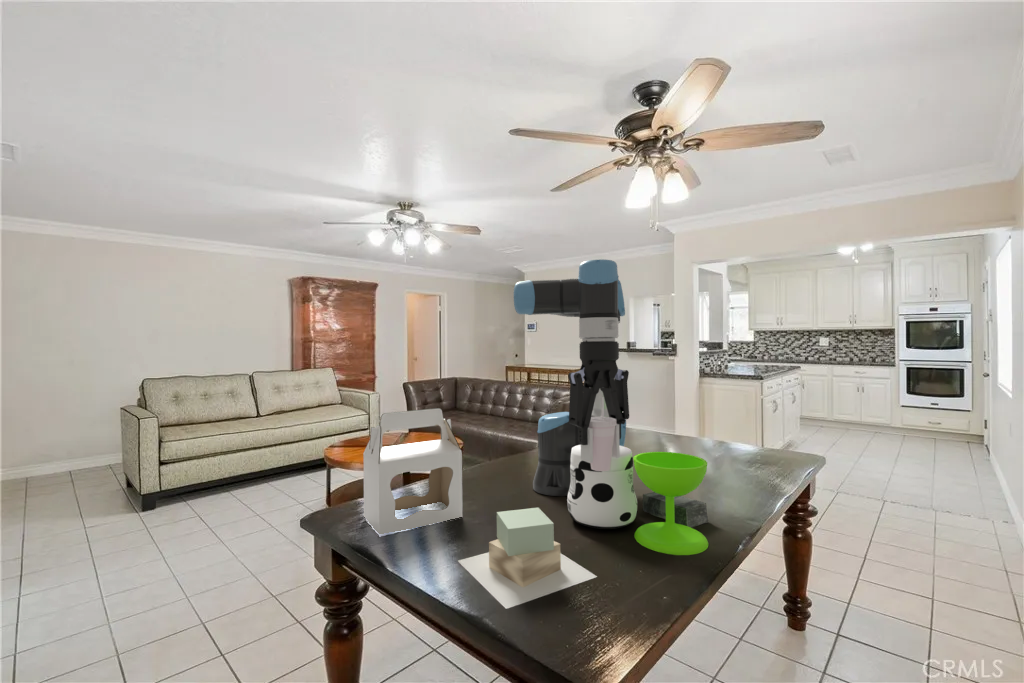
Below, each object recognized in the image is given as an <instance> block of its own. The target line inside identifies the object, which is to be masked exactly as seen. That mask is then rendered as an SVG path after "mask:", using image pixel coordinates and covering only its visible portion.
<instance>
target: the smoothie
mask: <svg viewBox="0 0 1024 683" xmlns="http://www.w3.org/2000/svg"><path fill="white" fill-rule="evenodd" d="M616 425H617V423H616V419H615V418H611V417H604V397H601V416H595V417H591V420H590V424H589V427H590V428H593V463H590V464H591V469H592V470H595V471H609V470H610V468H611V459H612V449H613V440H614V431H615V426H616Z"/></svg>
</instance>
